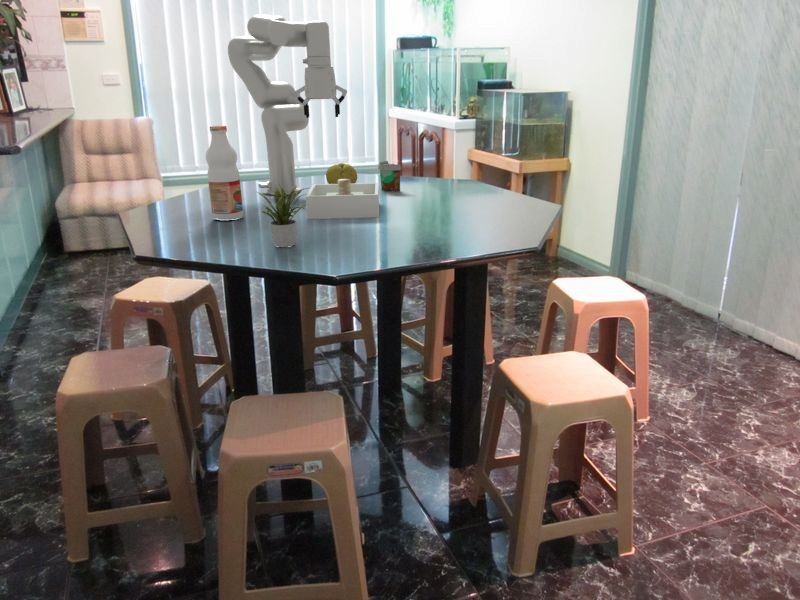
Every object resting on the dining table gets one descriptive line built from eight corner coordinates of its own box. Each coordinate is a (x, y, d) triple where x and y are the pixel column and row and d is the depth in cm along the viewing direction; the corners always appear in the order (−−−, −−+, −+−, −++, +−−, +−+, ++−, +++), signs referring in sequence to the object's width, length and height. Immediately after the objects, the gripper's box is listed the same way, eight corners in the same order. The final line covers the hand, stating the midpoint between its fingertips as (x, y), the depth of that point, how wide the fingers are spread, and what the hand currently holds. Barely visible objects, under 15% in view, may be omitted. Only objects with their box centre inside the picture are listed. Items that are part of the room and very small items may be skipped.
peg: (339, 212, 208) (337, 181, 204) (339, 209, 212) (338, 179, 208) (351, 211, 208) (349, 180, 205) (352, 209, 212) (350, 178, 208)
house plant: (328, 244, 169) (324, 181, 164) (286, 256, 160) (280, 189, 154) (293, 236, 178) (288, 177, 173) (251, 247, 169) (245, 184, 163)
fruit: (329, 188, 252) (327, 161, 249) (359, 187, 251) (358, 161, 248) (325, 193, 241) (323, 166, 238) (356, 192, 241) (355, 165, 238)
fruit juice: (211, 217, 205) (200, 125, 196) (241, 214, 208) (232, 124, 199) (214, 223, 197) (202, 128, 187) (245, 220, 200) (235, 126, 190)
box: (307, 219, 199) (305, 196, 197) (314, 205, 220) (312, 184, 217) (378, 217, 199) (378, 194, 197) (379, 203, 220) (378, 182, 218)
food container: (373, 188, 249) (372, 161, 246) (388, 186, 251) (387, 160, 248) (386, 193, 238) (385, 165, 235) (401, 191, 241) (401, 164, 237)
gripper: (290, 63, 207) (294, 118, 212) (345, 61, 207) (347, 117, 213) (293, 63, 214) (297, 117, 219) (346, 62, 214) (348, 115, 220)
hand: (322, 117), depth 216 cm, fingers open, 9 cm apart
